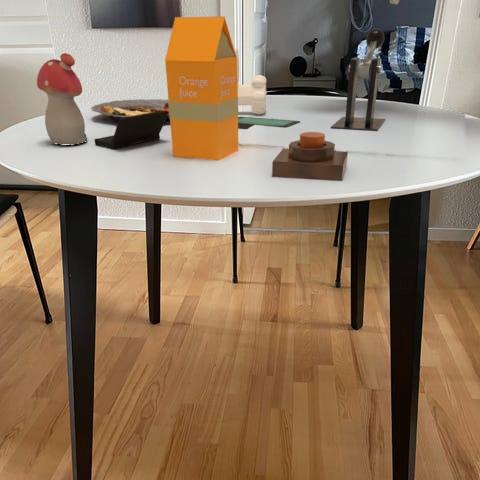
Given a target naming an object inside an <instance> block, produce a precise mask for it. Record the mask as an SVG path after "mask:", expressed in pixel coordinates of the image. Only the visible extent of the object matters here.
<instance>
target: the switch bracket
mask: <svg viewBox="0 0 480 480" xmlns="http://www.w3.org/2000/svg"><path fill="white" fill-rule="evenodd" d="M381 59H382V58H381V57H374V58H372V67H371V74H370V77H369V85H368V95H367V103H366V111H365V117H360V116H359V117H358V116H355V111H356V100H357V92H358V91H357V89H358V80H359V79H357V77H358V65H359V62H360V60H361V57H353V58H350V60H349V61H350V64H349V65H348V68H347V69H348V74H349V75H348V86H347V94H346V95H347V96H346V107H345V108H346V109H345V116H342V117H341V118H339V119H338V120H337V121H336V122H335V123H333V124H332V125H331V126H330V129H331V130H347V131H349V130H350V131H365V132H378V131H379V130H380V129H381V127H383V124H384V123H385V122H386V118H378V117H375V111H376V110H375V109H376V101H377V94H378V84H379V76H380V74H381V72H382V65H381Z"/></svg>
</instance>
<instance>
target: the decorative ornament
mask: <svg viewBox="0 0 480 480" xmlns="http://www.w3.org/2000/svg"><path fill="white" fill-rule="evenodd" d="M59 58H60V59H57V58H56V59H55V58H52V59H49V60H47V61H46V62H44V63H43V64H42V66H41V67H40V69H39V71H38V73H37V77H36V86H37V89H39V90H40V91H43V92H44V93H45V94H46V95H47V100H48V101H47V105H46V109H45V113H44V114H45V115H44V124H45V130H46V133H47V136H48V137H49V140H50V141H51V142H52V143H53V144H54V143H57V144H78V143H82V142H85V141H86V142H88V137H87V134H86V133H85V132H86V125H85V123H86V122H85V118H84V116H83V113H82V112H81V109H80V108H79V105H78V104H77V103H76V101H75V97H79V96H80V95H82V93H83V86H82V83H81V80H80V78H79V76H78V75H77V73H76V72H75V71H74V70H73V68H72V67H74V65H75V63H76V60H75V58H74V57H73V56H72V55H71V54H69V53H66V52H64V53H61V54H60V56H59ZM57 144H56V145H57ZM78 145H79V144H78Z"/></svg>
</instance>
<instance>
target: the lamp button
mask: <svg viewBox="0 0 480 480" xmlns="http://www.w3.org/2000/svg"><path fill="white" fill-rule="evenodd" d="M299 140H300V145H299V146H301V147H309V148H317V147H324V145H325V141H326V133H323V132H321V131H320V132H319V131H318V132H317V131H305V132H301V133H299Z"/></svg>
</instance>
